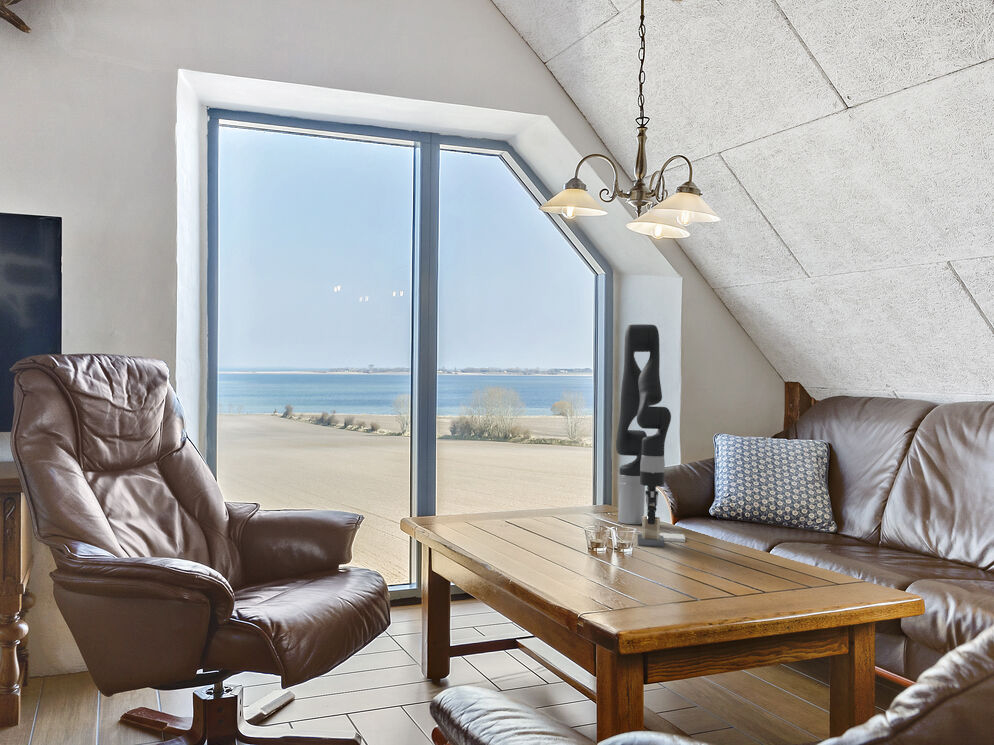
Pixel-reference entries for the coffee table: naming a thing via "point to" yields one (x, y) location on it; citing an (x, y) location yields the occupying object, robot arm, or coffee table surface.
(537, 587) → the coffee table surface
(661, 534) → the tile
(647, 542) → the pin stand
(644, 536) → the beige upright block
